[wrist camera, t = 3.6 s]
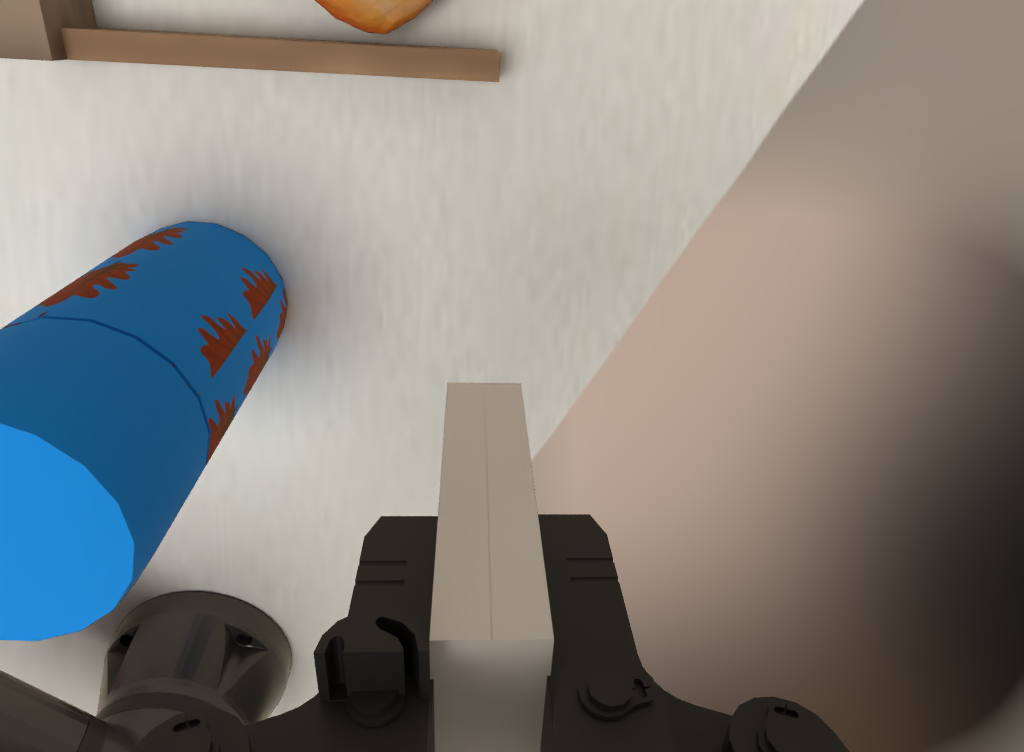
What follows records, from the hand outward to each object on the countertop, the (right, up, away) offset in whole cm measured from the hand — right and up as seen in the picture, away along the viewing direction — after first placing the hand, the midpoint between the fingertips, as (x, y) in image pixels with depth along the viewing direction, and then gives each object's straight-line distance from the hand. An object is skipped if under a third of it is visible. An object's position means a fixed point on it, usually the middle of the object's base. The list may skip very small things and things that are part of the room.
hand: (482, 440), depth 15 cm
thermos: (-20, +7, +33) cm, 39 cm away
